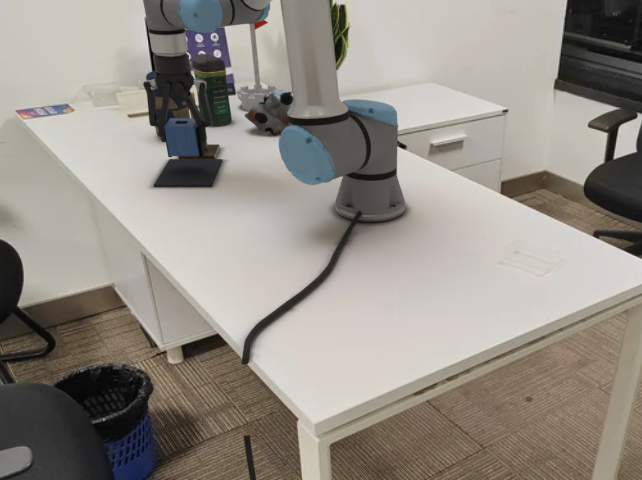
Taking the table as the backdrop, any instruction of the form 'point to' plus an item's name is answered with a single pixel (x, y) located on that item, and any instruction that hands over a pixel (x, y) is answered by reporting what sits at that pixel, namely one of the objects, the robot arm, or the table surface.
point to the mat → (189, 173)
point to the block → (182, 137)
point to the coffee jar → (213, 87)
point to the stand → (209, 149)
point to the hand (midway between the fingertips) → (186, 155)
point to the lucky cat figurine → (272, 112)
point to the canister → (176, 105)
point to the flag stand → (257, 93)
